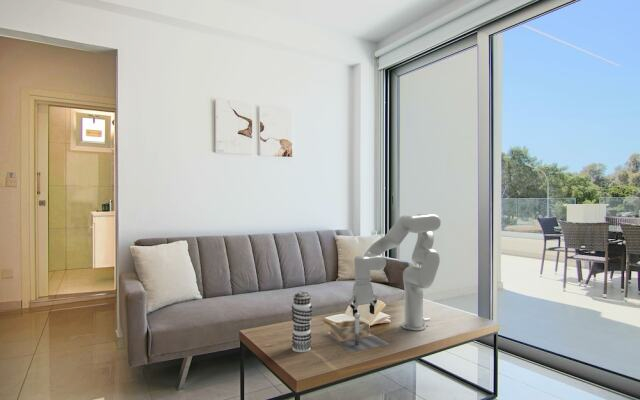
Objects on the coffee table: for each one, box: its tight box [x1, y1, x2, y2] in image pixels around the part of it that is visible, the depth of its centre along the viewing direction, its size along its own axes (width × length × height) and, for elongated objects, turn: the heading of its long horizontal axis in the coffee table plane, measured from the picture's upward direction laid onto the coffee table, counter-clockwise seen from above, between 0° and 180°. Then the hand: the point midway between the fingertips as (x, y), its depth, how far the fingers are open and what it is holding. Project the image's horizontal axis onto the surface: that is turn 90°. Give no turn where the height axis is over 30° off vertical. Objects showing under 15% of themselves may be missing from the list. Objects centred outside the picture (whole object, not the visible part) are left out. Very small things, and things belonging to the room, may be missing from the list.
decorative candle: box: [291, 291, 313, 353], centre depth 175 cm, size 9×9×25 cm
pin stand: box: [323, 312, 391, 353], centre depth 185 cm, size 21×26×16 cm
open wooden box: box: [329, 318, 370, 340], centre depth 190 cm, size 16×10×5 cm, turn 116°
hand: (363, 315), depth 194 cm, fingers open, 9 cm apart
